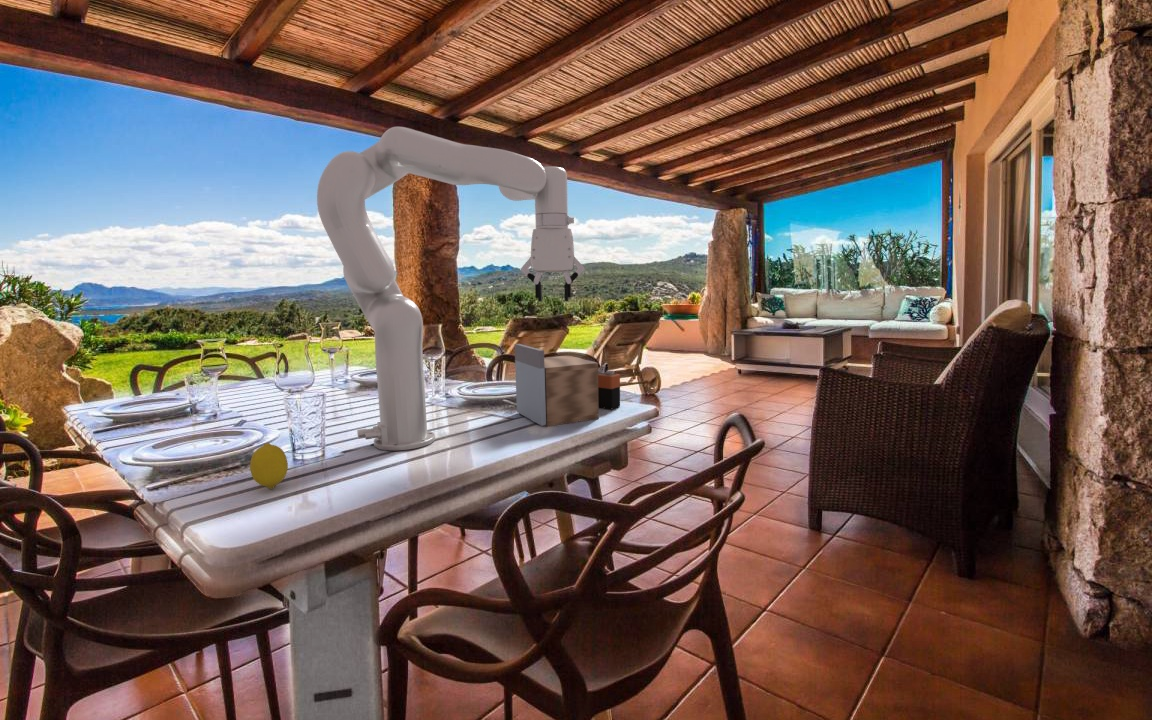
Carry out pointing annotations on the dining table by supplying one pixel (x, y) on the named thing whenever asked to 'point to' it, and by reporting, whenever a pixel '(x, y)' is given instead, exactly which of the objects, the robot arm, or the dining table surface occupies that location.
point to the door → (530, 383)
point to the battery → (608, 390)
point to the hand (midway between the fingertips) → (553, 300)
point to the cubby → (570, 390)
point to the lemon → (268, 465)
